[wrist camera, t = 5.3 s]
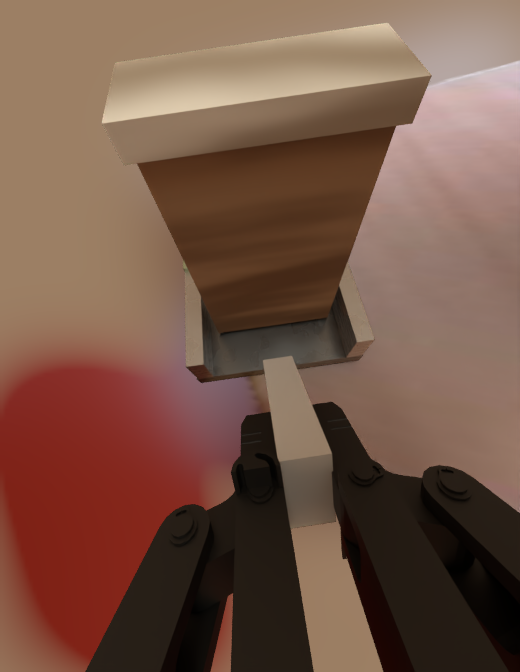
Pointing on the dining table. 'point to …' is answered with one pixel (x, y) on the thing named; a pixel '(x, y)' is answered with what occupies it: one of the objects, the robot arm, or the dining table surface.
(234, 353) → the track
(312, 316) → the brown wooden tall block
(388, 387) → the dining table surface
